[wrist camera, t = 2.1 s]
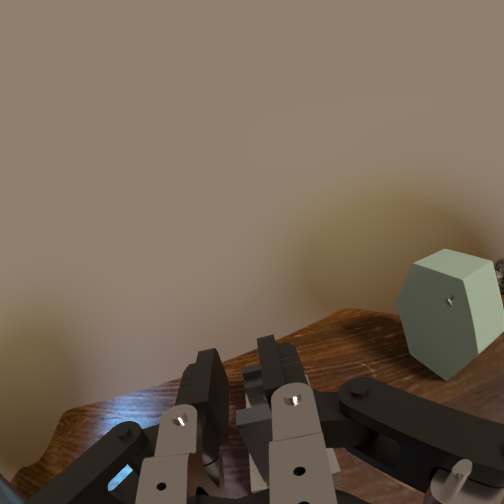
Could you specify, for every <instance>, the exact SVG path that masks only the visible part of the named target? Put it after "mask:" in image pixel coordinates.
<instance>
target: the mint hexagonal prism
mask: <svg viewBox="0 0 504 504" xmlns="http://www.w3.org/2000/svg"><path fill="white" fill-rule="evenodd" d="M452 296H454V298H453V300H452V301H451V300H450V298H452ZM396 304H397V307H398V311H399V315H400V318H401V322H402V326H403V329H404V333H405V337H406V341H407V345H408V349H409V353H410V355H411V356H413V357H414V358H415V359H417V360H418V361H419V362H421V363H422V364H423V365H425V366H426V367H428V368H429V369H430V370H432V371H433V372H434V373H436V374H437V375H438V376H440V377H441V378H443V379H444V380H445V381H448V380H449V379H451V378H452V377H453V376H455V375H456V374H457V373H458V372H460V371H461V370H462V369H464V368H465V367H466V366H467V365H469V364H470V363H471V362H472V361H473V360H475V359H476V358H477V357H478V356H479V355H480V354H481V353H482V352H484V351H485V350H486V349H487V348H488V347H489V346H490V345H491V344H492V343H493V342H494V341H495V340H496V339H497V338H498V337H499V336H500V335H501V334H502V333H503V332H504V309H503V304H502V299H501V294H500V289H499V285H498V281H497V277H496V273H495V269H494V265H493V262H492V261H490V260H486V259H483V258H479V257H475V256H471V255H468V254H464V253H460V252H456V251H452V250H448V249H443V250H441V251H439V252H437V253H435V254H432V255H430V256H428V257H426V258H424V259H421V260H419V261H417V262H415V263H413V264H412V266H411V269H410V271H409V273H408V276H407V278H406V280H405V283H404V284H403V287H402V289H401V291H400V293H399V295H398V297H397V299H396Z"/></svg>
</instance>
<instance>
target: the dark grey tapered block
mask: <svg viewBox="0 0 504 504" xmlns="http://www.w3.org/2000/svg"><path fill="white" fill-rule="evenodd" d="M236 426H237V428H238V430H239V432H240V435H241V437H242V439H243V441H244V443H245V445H246V447H247V449H248V451H249V453H250V455H251V457H252V459H253V461H254V463H255V465H256V467H257V469H258V471H259V473H260V475H261V477H262V479H263V481H264V482H265V483H268V482H269V442H270V441H273V433H272V414H271V411H270V408H269V405H268V404H265V405H261V406H256V407H251V408H246V409H241V410H236Z"/></svg>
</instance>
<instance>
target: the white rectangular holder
mask: <svg viewBox="0 0 504 504" xmlns="http://www.w3.org/2000/svg"><path fill="white" fill-rule="evenodd" d="M242 374H243V377H244V389H245V392H246V408H251V407H256V406H261V405H265V404H268V401H267V398H266V395H265V392H264V388H263V381H262V373H261V366H260V363H259V364H255V365H251V366H246V367H242ZM305 376H306V379H307V381H308V378H307V375H306V374H305ZM308 384H309V385H310V383H309V381H308ZM310 387H311V386H310ZM326 450H327V455H328V460H329V464H330V469H331V474H332V479H333V484H334V489H336V490H340V491H342V480H341V470H340V468H339V465H338V462H337V459H336V456H335V453H334V451H333V448H326ZM249 462H250V478H251V492H252V493H253V494H254V493H257V492H259V491H262V490H265V489H267V488H270V482H268V483H265V482H264V481H263V479H262V477H261V475H260V473H259V471H258V469H257V467H256V465H255V463H254V461H253V459H252V457H251V455H250V453H249Z"/></svg>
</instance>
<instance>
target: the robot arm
mask: <svg viewBox="0 0 504 504" xmlns="http://www.w3.org/2000/svg"><path fill="white" fill-rule="evenodd" d="M257 343H258V351H259V359H260V366H261V373H262V381H263V388H264V392H265V395H266V398H267V401H268V405H269V408H270V411H271V414H272V433H273V441H270V442H269V482H270V488H267V489H265V490H262V491H259V492H257V493H254V494H251V495H248V496H245V497H242V498H238V499H231V498H227V497H226V494H225V486H224V474H223V461H222V455H221V453H220V451H219V445H220V443H226V442H228V428H229V383H228V378H227V375H226V373H225V370H224V368H223V365H222V362H221V360H220V357H219V354H218V352H217V350H216V349H215V348H213V349H208V350H203V351H199V352H198V356H197V361H196V363H194V364H190V365H189V366H188V367H187V368H186V370H185V371H184V372H183V376H182V381H181V383H180V387H179V391H178V395H177V399H176V403H175V406H174V407H172V408H170V409H168V410H167V411H166V412H165V413H164V414H163V415H162V417H161V420H160V424H158V425H155V426H152V427H149V428H145V429H142V428H141V427H140V425H139V424H138V423H136V422H133V421H126V422H122V423H119V424H118V425H116V426H115V427H113V428H112V429H111V430H110V431H109V432H108V433H107V434H105V435H104V436H103V437H102V438H101V439H100V440H99V441H97V442H96V443H95V444H94V445H93V446H92V447H90V448H89V449H88V450H87V451H86V452H85V453H84V454H82V455H81V456H80V457H79V458H78V459H77V460H75V461H74V462H73V463H72V464H71V465H69V466H68V467H67V468H66V469H65V470H63V471H62V472H61V473H60V474H59V475H57V476H56V477H55V478H54V479H53V480H51V481H50V482H49V483H48V484H47V485H45V486H44V487H43V488H42V489H40V490H39V491H38V492H37V493H35V494H34V495H33V496H32V497H30V498H29V499H27V498H26V497H24V496H23V495H22V494H21V493H20V492H19V491H18V490H17V489H16V488H15V487H14V486H13V485H12V484H11V483H10V482H8V481H7V480H6V478H4V476H3V475H2V474H1V473H0V504H370V503H368V502H366V501H364V500H361V499H359V498H357V497H355V496H353V495H351V494H349V493H346V492H343V491H340V490H336V489H334V484H333V479H332V474H331V469H330V464H329V460H328V455H327V450H326V448H343V447H344V448H345V449H346V450H347V451H348V452H350V453H351V454H353V455H354V456H356V457H358V458H359V459H361V460H363V461H365V462H366V463H368V464H370V465H371V466H373V467H375V468H377V469H379V470H380V471H382V472H384V473H386V474H388V475H389V476H391V477H393V478H395V479H397V480H399V481H401V482H403V483H405V484H407V485H409V486H411V487H413V488H415V489H417V490H419V491H421V492H423V493H425V496H424V500H423V504H500V502H501V500H502V499H503V497H504V425H503V424H500V423H496V422H493V421H490V420H486V419H483V418H480V417H477V416H473V415H470V414H467V413H464V412H461V411H458V410H455V409H452V408H449V407H446V406H443V405H440V404H438V403H435V402H432V401H429V400H426V399H424V398H421V397H418V396H416V395H413V394H410V393H408V392H405V391H403V390H400V389H397V388H395V387H392V386H390V385H387V384H385V383H382V382H380V381H377V380H375V379H372V378H369V377H358V378H354V379H351V380H349V381H347V382H346V383H344V384H343V385H342V386H341V387H340V389H339V391H338V392H320V391H317V390H314V389H313V388H311V387H310V385H309V384H308V381H307V379H306V376H305V373H304V370H303V367H302V365H301V362H300V359H299V356H298V353H297V351H296V348H295V347H294V346H293V345H292V344H290V343H289V342H287V343H283V344H279V345H276V343H275V339H274V335H269V336H265V337H261V338H257ZM127 464H128V465H129V466H130V467H131V468H132V470H133V471H132V472H131V473H130V474H129V475H128V476H127V477H126V478H125V479H124V480H123V481H122V482H121V483H120V484H119V485H118V486H117V487H116V488H115V489H113V490H112V491H108V483H109V482H110V481H111V480H112V479H113V478H114V477H115V476H116V475H117V474H118V473H119V472H120V471H121V470H122V469H123V468H124V467H125V466H126V465H127Z"/></svg>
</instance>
